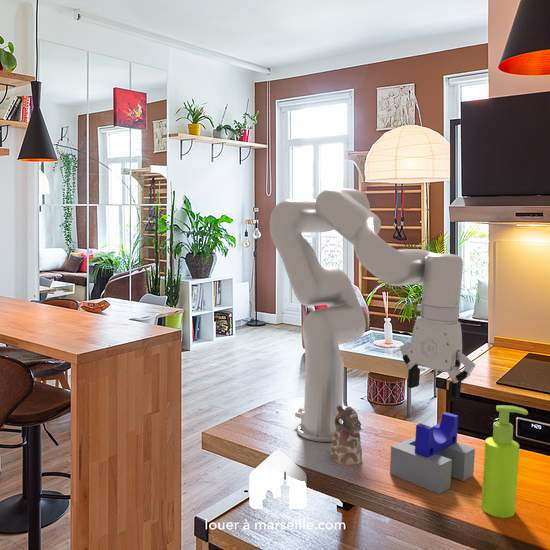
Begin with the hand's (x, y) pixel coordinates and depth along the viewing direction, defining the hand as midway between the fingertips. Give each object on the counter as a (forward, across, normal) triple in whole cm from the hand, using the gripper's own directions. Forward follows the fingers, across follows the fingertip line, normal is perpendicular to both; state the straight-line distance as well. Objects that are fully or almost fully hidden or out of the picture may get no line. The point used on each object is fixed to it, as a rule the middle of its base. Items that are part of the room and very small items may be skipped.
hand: (432, 393), depth 123 cm
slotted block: (+18, +1, 0) cm, 18 cm away
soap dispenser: (+17, +18, -3) cm, 25 cm away
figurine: (+18, -16, -8) cm, 25 cm away
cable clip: (+12, +1, 0) cm, 12 cm away
